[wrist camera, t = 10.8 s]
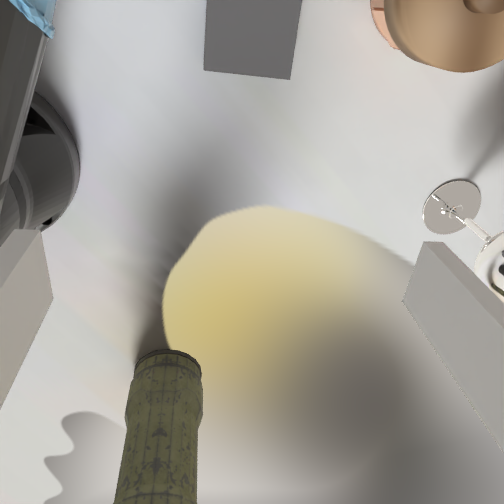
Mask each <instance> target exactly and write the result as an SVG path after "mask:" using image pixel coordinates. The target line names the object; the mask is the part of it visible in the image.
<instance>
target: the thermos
mask: <svg viewBox="0 0 504 504" xmlns="http://www.w3.org/2000/svg"><path fill="white" fill-rule="evenodd" d="M201 374H202V373H201V368H200V365H199V364H198V362H197V361H196V359H194V358H193V357H191V356H190V355H189V354H187V353H184V352H181V351H178V350H169V349H167V350H158V351H155V352H152V353H149V354H147V355H146V356H144V357H143V358H142V359H140V360H139V362H138V363H137V365H136V366H135V371H134V377H133V378H134V379H133V380H132V382H131V385H130V390H129V395H128V400H127V406H126V411H125V422H126V426H127V433H126V439H125V444H124V450H123V455H122V461H121V467H120V472H119V478H118V483H117V489H116V494H115V500H114V503H113V504H197V441H198V439H197V438H198V428H199V425H200V422H201V419H202V415H203V411H202V410H203V389H202V383H201Z"/></svg>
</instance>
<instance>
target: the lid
mask: <svg viewBox="0 0 504 504" xmlns="http://www.w3.org/2000/svg"><path fill="white" fill-rule="evenodd" d="M384 15H385V21H386V25H387V28H388V31H389V33H390V36H391V38H392V39H393V41H394V43H395V44H396V46H397V47H398V48H399V49H400V50H401V51H402V52H403V53H404V54H405V55H406V56H408V57H409V58H411V59H413V60H415V61H417V62H420V63H423V64H426V65H430V66H433V67H437V68H440V69H444V70H447V71H452V72H463V73H465V72H474V71H478V70H482V69H485V68H487V67H490V66H492V65H494V64H496V63H498V62H500V61H502V60H503V59H504V0H384Z"/></svg>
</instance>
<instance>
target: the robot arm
mask: <svg viewBox="0 0 504 504" xmlns="http://www.w3.org/2000/svg"><path fill="white" fill-rule="evenodd" d="M55 5H56V0H0V409H1V407H2V405H3V403H4V400H5V398H6V396H7V394H8V392H9V390H10V388H11V386H12V384H13V382H14V380H15V378H16V376H17V373H18V371H19V369H20V367H21V365H22V363H23V361H24V359H25V357H26V355H27V353H28V351H29V349H30V346H31V344H32V342H33V340H34V338H35V336H36V334H37V332H38V330H39V328H40V326H41V324H42V321H43V319H44V317H45V315H46V313H47V311H48V309H49V307H50V305H51V303H52V301H53V293H52V288H51V283H50V278H49V273H48V267H47V262H46V257H45V252H44V247H43V241H42V236H41V232H42V231H44V230H45V229H47V228H48V227H50V226H51V225H52V224H54V223H55V222H56V221H57V220H58V219H59V218H60V217H61V216H62V214H63V213H64V212H65V210H66V209H67V207H68V206H69V204H70V203H71V201H72V199H73V197H74V195H75V193H76V190H77V187H78V183H79V176H80V165H79V157H78V153H77V149H76V146H75V143H74V140H73V138H72V136H71V134H70V132H69V130H68V128H67V126H66V125H65V123H64V122H63V120H62V119H61V117H60V116H59V115H58V113H57V112H56V111H55V110H54V109H53V108H52V107H51V105H50V104H49V103H48V102H47V101H45V100H44V99H43V98H42V97H41V96H40V95H39V94H37V93H36V92H35V91H34V90H35V86H36V82H37V79H38V75H39V71H40V68H41V64H42V60H43V57H44V53H45V49H46V46H47V42H48V38H51V39H53V36H54V33H55V29H54V27H53V25H52V19H53V14H54V10H55ZM402 302H403V303H404V305H405V306H406V308H407V309H408V311H409V312H410V314H411V315H412V317H413V318H414V320H415V321H416V323H417V324H418V326H419V327H420V329H421V330H422V332H423V333H424V335H425V336H426V338H427V339H428V341H429V342H430V344H431V345H432V347H433V348H434V350H435V351H436V353H437V354H438V356H439V357H440V359H441V360H442V362H443V363H444V365H445V366H446V368H447V369H448V371H449V372H450V374H451V375H452V377H453V378H454V380H455V381H456V383H457V384H458V386H459V387H460V389H461V390H462V392H463V393H464V395H465V396H466V398H467V399H468V401H469V402H470V404H471V405H472V407H473V408H474V410H475V411H476V413H477V414H478V416H479V417H480V419H481V420H482V422H483V423H484V425H485V426H486V428H487V429H488V431H489V432H490V434H491V435H492V437H493V438H494V440H495V441H496V443H497V444H498V446H499V447H500V449H501V450H502V452H503V453H504V303H503V302H502V301H501V300H500V299H499V298H498V297H497V296H496V295H495V294H494V293H493V292H492V291H491V290H490V289H489V288H488V287H487V286H486V285H485V284H484V283H483V282H482V281H481V280H480V279H479V278H478V277H477V276H476V275H475V274H474V273H473V272H472V271H471V270H470V269H469V268H468V267H467V266H466V265H465V264H464V263H463V262H462V261H461V260H460V259H459V258H458V257H457V256H456V255H455V254H454V253H453V252H452V251H451V250H450V249H449V248H448V247H447V246H446V245H445V244H444V243H443V242H423V245H422V247H421V250H420V253H419V256H418V258H417V261H416V264H415V267H414V270H413V272H412V275H411V278H410V281H409V284H408V286H407V290H406V292H405V295H404V298H403V300H402Z"/></svg>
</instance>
